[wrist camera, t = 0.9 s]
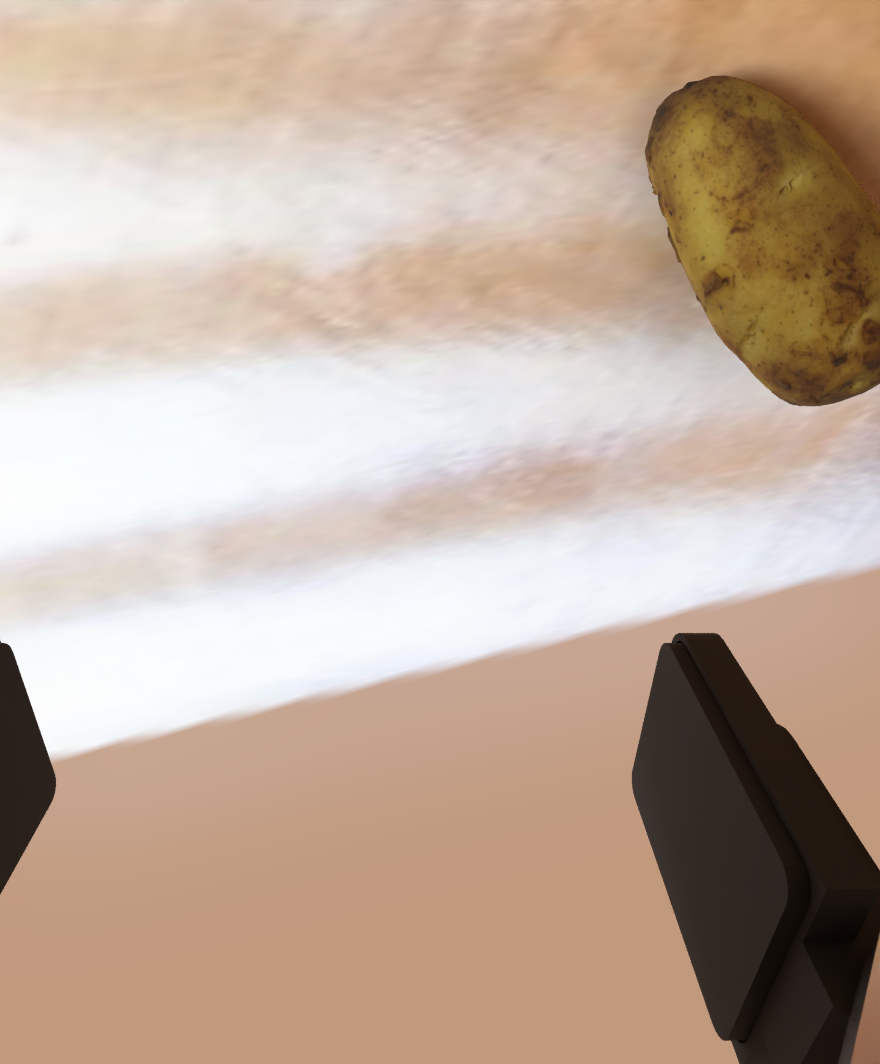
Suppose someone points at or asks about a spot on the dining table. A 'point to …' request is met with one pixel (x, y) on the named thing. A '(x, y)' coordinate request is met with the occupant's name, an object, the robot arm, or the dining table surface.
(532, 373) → the dining table surface
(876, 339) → the potato
